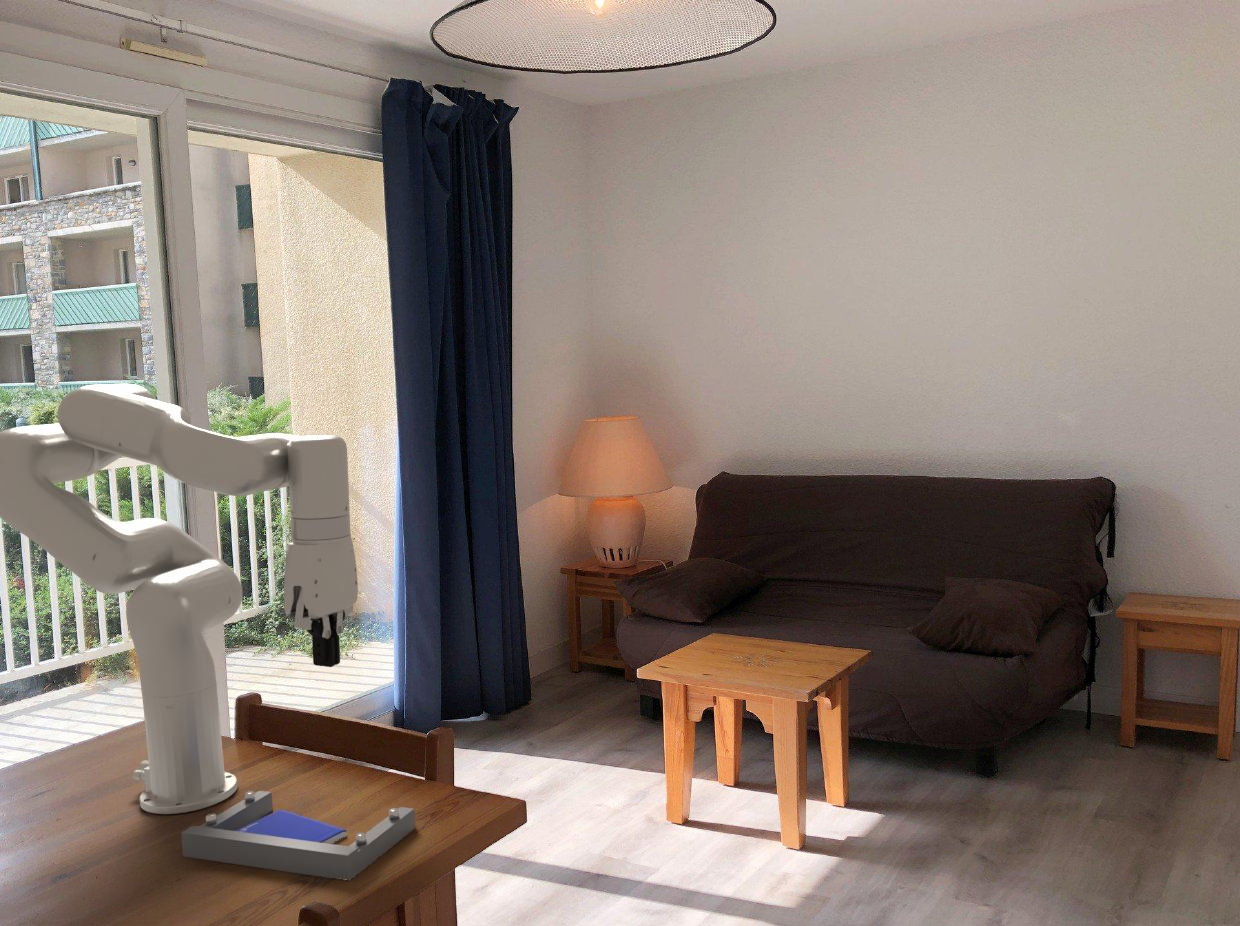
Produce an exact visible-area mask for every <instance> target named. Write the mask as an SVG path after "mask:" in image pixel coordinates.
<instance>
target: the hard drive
mask: <svg viewBox="0 0 1240 926" xmlns="http://www.w3.org/2000/svg"><path fill="white" fill-rule="evenodd" d="M236 831H237V832H245V833H252V834H260V835H267V836H275V837H282V838H290V839H297V840H305V841H312V842H320V843H327V844H331V843H332V844H334V843H336V842H337V841H340V840H342V839H344V838H345V837H347V836H348V832H347V829H344V828H341V827H338V826H335V825H332V824H329V823H325V822H322V821H320V820H316V819H314V818H313V819H312V818H310V817H306V816H303V815H301V814H297V813H294V812H291V811H287V810H285V809H279V810H277V811H275V812H273V813H270V814H267V815H265V816H263V817H261V818H260V819H258V820H256V821H255V822H253V823H251V824H248V825H246V826H244V827H242V828H240V829H238V830H236ZM343 837H344V838H343ZM341 838H342V839H341ZM339 839H340V840H339ZM335 841H336V842H335Z"/></svg>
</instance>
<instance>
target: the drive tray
mask: <svg viewBox="0 0 1240 926" xmlns="http://www.w3.org/2000/svg"><path fill="white" fill-rule="evenodd" d="M272 794H273V793H272V791H267V790H265V791H264V790H258V791H256V792H254V791H252V790H250V791H246V792H245V793H244V799H243V800H241V801H240V802H238V803H236V804H234V805H233V806H230V807H229V808H227V809H225V810H224V811H223V812H220V813H219V814H216V813H209V814H207V815H206V816H205V822H203V823H202V824H200V825H191V826H190V827H187V829H185V830H183V831H182V832H180V836H181V845H182V847H181V848H182V857H184V858H192V859H198V860H204V861H211V862H212V861H213V862H219V863H226V864H233V865H238V866H239V865H240V866H245V867H251V868H252V867H253V868H259V869H265V870H273V871H280V872H287V873H293V874H301V875H306V876H307V875H308V876H312V877H313V876H314V877H320V876H321V877H320V878H328V879H333V878H338V879H337V880H340V878H341V879H347V880H350V879H352V878H353V879H354V878H355V877H357V876H358V875H359V874H360V873H362V872H361V871H362V870H363V869H364V868H365V869H366V867H367V868H368V867H369V866H370V865H372V864H373V863H374V862H375V861H377V860H378V859H379V858H380V857H382V856H383V855H384V854H385V853H386V852H388V851H389V850H390V849H392V848H393V845H394V844H395V845H397V843H399V842H400V841H401V840H402V839H403V837H404V836H405V837H406V836H407V835H409V834H410V833H411V832H412V831H413V830H415V829H416V828H415V827H416V815H415V814H416V813H415V808H412V807H406V806H400V807H392V808H390V809H388V816H387V817H385V818H384V819H383V820H382V821H380V822H379V823H377V824H376V825H375V826H374V827H372V828H371V829H369V830H368V831H367V832H358V833H356V834H355V835H354V836H355V840H354V841H353V843H351V844H350V845H341V844H334V843H332V844H327V843H320V842H312V841H305V840H297V839H290V838H282V837H275V836H267V835H260V834H252V833H245V832H237V831H236V830H238V829H240V828H242V827H244V826H246V825H248V824H251V823H253V822H255V821H257V820H259V819H261V818H264V817H265V816H267V815H269V813H270V812H272V811H273V810H274V809H273V797H272V796H273V795H272ZM414 828H415V829H414ZM411 830H412V831H411ZM405 837H404V838H405ZM395 845H394V846H395ZM388 849H389V850H388ZM383 853H384V854H383ZM382 854H383V855H382ZM379 856H380V857H379ZM378 857H379V858H378ZM377 858H378V859H377ZM374 860H375V861H374ZM373 861H374V862H373ZM372 862H373V863H372ZM368 865H369V866H368ZM365 869H364V870H365ZM364 870H363V871H364ZM359 872H360V873H359ZM358 873H359V874H358ZM357 874H358V875H357ZM356 875H357V876H356ZM353 879H352V880H353ZM350 881H351V880H350Z"/></svg>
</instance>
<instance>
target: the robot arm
mask: <svg viewBox="0 0 1240 926" xmlns="http://www.w3.org/2000/svg"><path fill="white" fill-rule="evenodd" d="M56 417H57V423H46V424H34V425H33V424H32V425H23V426H16V427H12V428H7V429H5V430H1V431H0V519H1V520H2V521H4V522H5V524H7V525H9V526H10V527H11V528H13V529H15V530H16V531H17V532H19V533H20V534H23V535H24V536H25V537H26V538H28V539H29V540H31V541H32V542H34V543H35V544H37V545H38V546H39V547H40V548H42V549H43V550H44V551H45V552H46V553H48V554H49V555H50V557H53V558H54V559H55V560H56V561H58V562H59V563H60V564H61V565H62V566H64V567H65V568H66V569H68V570H69V571H71V573H73V574H74V575H75V576H76V577H78V578H79V579H80V580H82V581H83V582H84V583H85V584H86V585H88V586H90V587H91V588H92V589H93V590H95V591H97V592H99V593H102V594H106V595H116V594H122V593H125V592H129V591H132V590H133V591H132V593H131V595H130V596H129V599H128V601H127V604H126V608H125V609H126V610H125V614H126V615H125V617H126V618H125V619H126V624H127V628H128V631H129V634H130V637H131V640H132V643H133V647H134V650H135V654H136V659H137V665H138V671H139V679H140V680H139V681H140V691H141V695H142V705H143V706H142V708H143V717H144V728H145V729H144V730H145V736H146V737H145V738H146V739H145V740H146V748H147V759H148V760H146V759H145V760H142V761H141V762H140V763H139V765H138V769H135V770H134V771H133V773H132V779H133V780H136V781H144V782H145V784H144V785H145V790H143V791H142V793H141V794H140V795H139V806H140V807H141V808H140V809H142V810H143V811H145V812H147V813H151V814H154V815H155V814H156V815H157V814H158V815H174V814H175V815H176V814H184V813H188V812H194V811H199V810H202V809H205V808H208V807H212V806H214V805H216V804H218V803H221V802H223V801H225V800H226V799H228V798H230V797H231V796H232V795H233V794H234V793H236V791H237V789H238V778H237V777H236V776H235V775H234V774H232V773H230V772H229V771H228V772H227V771H225V764H224V763H225V762H224V752H223V742H222V741H223V740H222V729H221V719H220V710H219V709H220V708H219V707H220V706H219V695H218V685H217V675H216V667H215V662H214V658H213V656H212V653H211V651H210V649H209V647H208V645H207V643H206V641H205V638H204V636H203V632H205V631H207V630H209V629H212V628H213V627H216V626H218V625H220V624H223V622H226V621H228V620H229V619H230V618H232V617H233V616H234V615H235V614H236V613H237V611H238V610H239V608H240V606H241V604H242V601H243V588H242V584H241V582H240V579H239V578H238V576H237V574H236V573H235V571H233V569H232V568H231V567H230V566H229V565H228V564H227V563H225V561H223V560H222V559H221V558H220V557H218V556H217V555H215V554H214V552H212V551H211V550H209V549H208V548H206V547H205V546H204V545H203V544H201V543H200V542H198V541H197V540H196V539H194V538H193V537H192V536H191V535H189V534H188V533H187V532H185V531H184V530H183V529H181V528H180V527H179V526H177V525H175V524H174V523H172V522H169V521H167V520H164V519H161V518H155V517H142V518H137V519H133V520H128V521H118V520H116V519H114V518H111V517H110V516H108V515H106V514H105V513H104V512H102V511H101V510H99V509H98V508H97V507H96V506H95V505H93V504H92V502H90V501H89V500H87V499H85V498H84V497H82V496H79V494H76V493H73V492H72V491H69V490H66V489H64V488H62V487H60V486H58V485H56V484H58V483H59V484H61V483H65V482H71V481H76V480H81V479H84V478H88V477H90V476H92V475H94V474H96V473H98V472H99V471H101V470H102V469H104V468H105V467H107V466H109V465H111V464H112V463H114V462H116V461H117V460H118V459H120V458H122V457H125V458H128V459H132V460H136V461H139V462H143V463H146V464H150V465H153V466H157V467H158V468H159V469H160V470H161V471H162V472H163V473H165V474H167V475H168V476H169V477H171V478H172V479H174V480H176V481H178V482H180V483H183V484H186V485H188V486H191V487H195V488H199V489H203V490H207V491H211V492H214V493H218V494H221V495H226V496H232V497H247V496H251V495H256V494H259V493H262V492H263V493H264V492H268V491H274V490H278V489H281V488H287V487H288V488H289V509H290V511H289V512H290V514H289V515H290V528H291V529H290V532H291V534H290V535H291V542H289V543H288V545H287V548H286V556H285V564H284V578H283V579H284V580H283V581H284V582H283V602H284V605H283V606H284V613H285V615H286V616H287V617H289V618H290V617H291V618H294V624H293V627H294V629H296V630H300V631H301V630H302V631H305V630H306V631H307V632H308V637H309V638H311V641H312V663H313V665H314V666H316V667H317V666H318V667H327V668H332V667H334V666H337V665H339V664H341V650H340V649H341V647H340V634H342V631H343V622H344V621H345V618H346V617H347V616H349V615H350V614H351V613H353V611H354V606H353V605H355V604H356V603H357V601H358V594H359V593H358V591H359V586H358V585H359V584H358V571H357V570H358V569H357V561H356V560H357V559H356V555H355V554H356V553H355V547H354V543H353V537H352V534H351V515H350V514H351V512H350V490H349V489H350V487H349V485H350V484H349V482H350V481H349V461H348V446H347V443H346V441H345V439H344V438H343V437H342V436H340V435H339V436H338V435H335V434H334V435H333V434H312V435H294V434H287V433H282V432H280V433H279V432H271V433H270V432H269V433H262V434H261V433H260V434H253V435H251V434H250V435H245V436H237V437H235V436H229V435H225V434H221V433H217V432H214V431H209V430H207V429H203V428H200V427H196V426H193V425H192V421H191V418H190V416H189V414H188V412H187V411H186V410H185V409H184V408H183V407H182V406H180V405H176V404H172V403H167V402H164V401H160V400H157V397H156V396H155V395H154V394H153V393H152V392H151V391H149V390H148V389H146V388H145V387H143V386H141V385H138V384H132V383H113V384H112V383H107V384H106V383H104V384H88V385H84V386H80V387H77V388H75V389H72V390H71V391H69V392H68V393H67V394H66V395H65V396H64V397H63V398H62V400H61V401H60V403H59V405H58V408H57V412H56Z"/></svg>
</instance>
